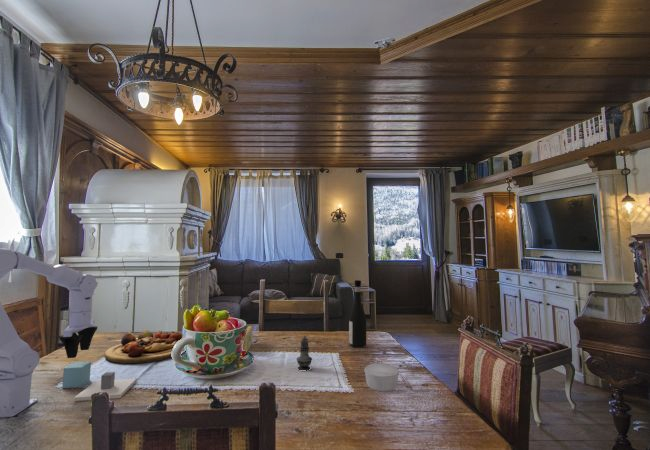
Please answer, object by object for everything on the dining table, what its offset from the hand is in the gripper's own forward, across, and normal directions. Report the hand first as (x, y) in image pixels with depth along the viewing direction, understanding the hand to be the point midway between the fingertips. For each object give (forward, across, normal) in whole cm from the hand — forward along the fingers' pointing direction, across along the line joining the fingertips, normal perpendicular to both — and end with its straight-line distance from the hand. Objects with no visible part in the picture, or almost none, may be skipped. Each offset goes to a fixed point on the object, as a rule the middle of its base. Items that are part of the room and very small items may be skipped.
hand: (78, 353), depth 104 cm
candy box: (+11, +29, -52) cm, 61 cm away
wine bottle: (+11, +25, -102) cm, 106 cm away
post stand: (+10, -7, -12) cm, 17 cm away
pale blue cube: (+10, 0, 0) cm, 10 cm away
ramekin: (+10, -19, -97) cm, 99 cm away
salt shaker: (+10, +1, -74) cm, 75 cm away
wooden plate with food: (+11, +32, -12) cm, 36 cm away
